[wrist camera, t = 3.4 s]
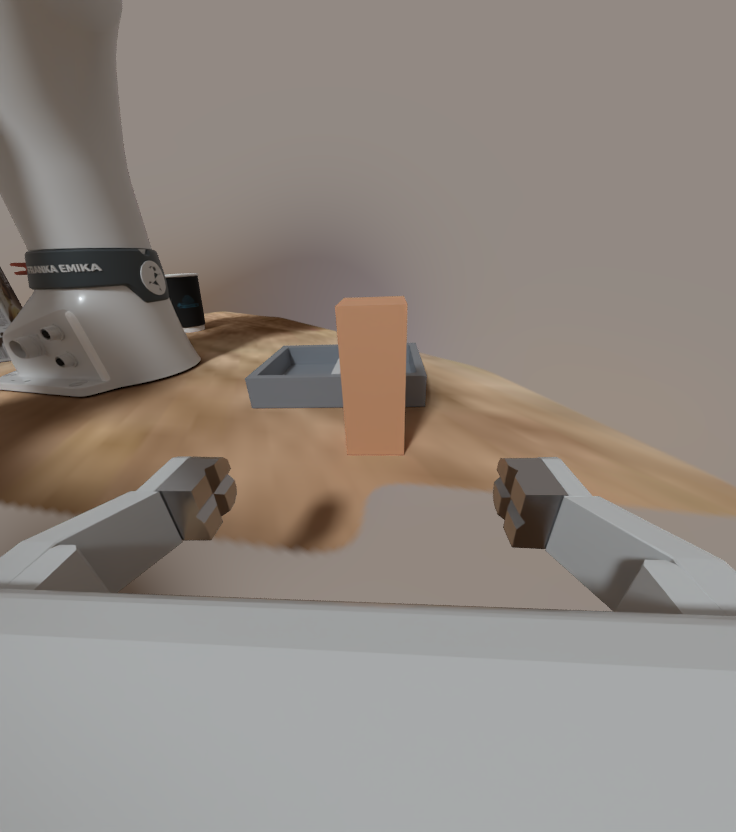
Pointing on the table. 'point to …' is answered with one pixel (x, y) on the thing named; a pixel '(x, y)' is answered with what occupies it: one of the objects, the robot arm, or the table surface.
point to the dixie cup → (186, 300)
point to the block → (373, 373)
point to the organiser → (318, 378)
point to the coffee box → (6, 311)
